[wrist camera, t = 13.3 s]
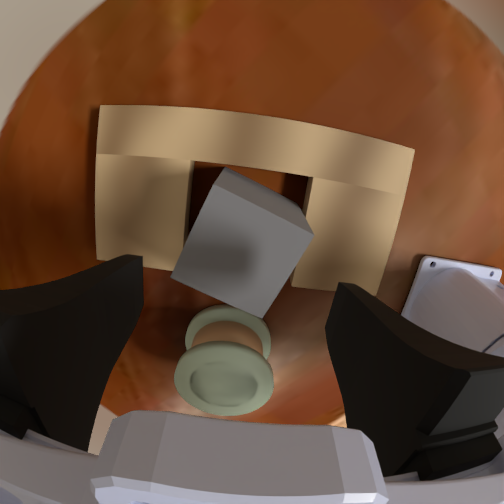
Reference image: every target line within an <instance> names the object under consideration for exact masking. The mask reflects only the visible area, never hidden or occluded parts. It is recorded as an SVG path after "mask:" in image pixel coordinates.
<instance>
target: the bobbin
mask: <svg viewBox="0 0 504 504" xmlns="http://www.w3.org/2000/svg"><path fill="white" fill-rule="evenodd" d="M185 345H186V349H187V351H186V352H185V353H184V354H183V355H182V356H181V357H180V359H179V361H178V364H177V367H176V371H175V374H174V382H175V386H176V389H177V391H178V393H179V394H180V395H181V397H182V398H183V399H184V400H185V401H186V402H188V403H189V404H190V405H192V406H193V407H195V408H197V409H199V410H201V411H204V412H207V413H211V414H215V415H222V416H235V415H242V414H246V413H249V412H252V411H254V410H256V409H258V408H260V407H261V406H263V405H264V404H265V403H266V402H267V401H268V400H269V398H270V397H271V395H272V392H273V388H274V381H273V372H272V368H271V366H270V364H269V362H268V361H267V358H268V356H269V354H270V350H271V338H270V331H269V329H268V327H267V325H266V323H265V322H264V321H263V319H262V318H259V317H257V316H255V315H252V314H250V313H248V312H245V311H243V310H241V309H239V308H236V307H234V306H232V305H229V304H221V305H215V306H211V307H208V308H206V309H204V310H202V311H200V312H199V313H198V314H196V315H195V316H194V317H193V319H192V320H191V322H190V324H189V326H188V329H187V333H186V336H185Z"/></svg>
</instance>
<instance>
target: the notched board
mask: <svg viewBox="0 0 504 504" xmlns="http://www.w3.org/2000/svg"><path fill="white" fill-rule="evenodd" d="M414 151H415V150H414V149H411V148H408V147H404V146H401V145H398V144H394V143H391V142H387V141H383V140H380V139H376V138H372V137H368V136H364V135H360V134H356V133H352V132H348V131H343V130H339V129H334V128H330V127H325V126H320V125H315V124H310V123H305V122H299V121H294V120H288V119H282V118H276V117H269V116H262V115H255V114H248V113H240V112H231V111H222V110H212V109H201V108H187V107H171V106H145V105H100V113H99V123H98V135H97V150H96V172H95V230H96V252H97V259H98V260H105V261H108V260H111V259H113V258H116V257H119V256H122V255H125V254H132V255H138V256H143V267H150V268H156V269H163V270H170V271H173V270H174V267H175V265H176V263H177V261H178V258H179V256H180V254H181V252H182V250H183V247H184V245H185V243H186V241H187V239H188V228H189V215H190V203H191V192H192V182H193V172H194V163H195V161H202V162H212V163H220V164H229V165H237V166H244V167H252V168H259V169H266V170H272V171H279V172H285V173H292V174H298V175H304V176H309V177H308V182H307V188H306V193H305V199H304V204H303V209H302V213H303V215H304V216H305V218H306V220H307V222H308V224H309V226H310V227H311V229H312V231H313V233H314V237H313V239H312V240H311V242H310V244H309V245H308V247H307V249H306V250H305V252H304V253H303V255H302V257H301V258H300V260H299V262H298V263H297V265H296V266H295V268H294V270H293V271H292V273H291V274H290V276H289V278H290V282H291V286H292V287H300V288H309V289H318V290H327V291H336V289H337V286H338V282H345V283H354V284H356V285H358V286H360V287H361V288H363V289H364V290H366V291H367V292H369V293H370V294H371V295H374V296H376V294H377V291H378V288H379V285H380V282H381V279H382V276H383V273H384V270H385V267H386V263H387V260H388V257H389V254H390V250H391V247H392V243H393V240H394V236H395V233H396V229H397V225H398V222H399V218H400V214H401V210H402V206H403V202H404V198H405V193H406V189H407V185H408V180H409V176H410V171H411V166H412V161H413V156H414Z"/></svg>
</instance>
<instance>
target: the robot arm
mask: <svg viewBox="0 0 504 504" xmlns="http://www.w3.org/2000/svg"><path fill="white" fill-rule="evenodd" d="M431 262H433V264H432V265H431V266H430V264H431ZM501 275H502V271H501V270H500V269H499V268H495V267H490V266H484V265H479V264H473V263H467V262H462V261H456V260H450V259H444V258H438V257H432V256H425V257H423V258H422V259H421V261H420V264H419V267H418V270H417V273H416V276H415V279H414V282H413V285H412V287H411V290H410V293H409V295H408V298H407V301H406V303H405V306H404V308H403V311H402V313H401V315H400V314H398V313H397V312H395V311H394V310H392V309H391V308H390V307H388V306H387V305H385V304H384V303H383V302H381V301H380V300H378V299H377V298H376V297H374V296H373V295H371V294H370V293H369V292H367V291H366V290H364V289H363V288H361V287H360V286H358V285H356V284H354V283H345V282H338V286H337V289H336V293H335V296H334V299H333V303H332V306H331V309H330V313H329V316H328V319H327V322H326V326H325V331H326V339H327V345H328V350H329V354H330V357H331V361H332V364H333V367H334V371H335V374H336V377H337V381H338V384H339V388H340V391H341V394H342V399H343V403H344V409H345V416H346V423H347V428H344V427H337V426H331V425H289V424H269V423H255V422H244V421H233V420H224V419H216V418H208V417H201V416H195V415H188V414H182V413H176V412H171V411H148V410H135V411H131V412H129V413H127V414H124V415H122V416H120V417H117V418H115V419H113V420H112V422H111V425H110V427H109V430H108V433H107V435H106V438H105V441H104V443H103V446H102V448H101V451H100V454H99V455H94V454H91V453H88V447H89V442H90V438H91V433H92V429H93V426H94V422H95V418H96V414H97V411H98V408H99V405H100V401H101V398H102V395H103V392H104V389H105V386H106V384H107V381H108V378H109V376H110V373H111V371H112V369H113V367H114V365H115V363H116V361H117V359H118V357H119V355H120V354H121V352H122V350H123V348H124V346H125V344H126V343H127V341H128V339H129V337H130V335H131V333H132V331H133V330H134V328H135V326H136V324H137V321H138V318H139V316H140V313H141V310H142V307H143V305H144V298H143V256H138V255H132V254H125V255H122V256H119V257H116V258H113V259H111V260H108V261H106V262H104V263H101V264H99V265H96V266H94V267H92V268H89V269H87V270H84V271H81V272H79V273H76V274H73V275H71V276H68V277H65V278H62V279H59V280H55V281H52V282H48V283H44V284H40V285H34V286H29V287H24V288H18V289H9V290H0V504H504V285H503V284H501V283H500V282H499V280H500V278H501Z"/></svg>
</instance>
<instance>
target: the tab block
mask: <svg viewBox="0 0 504 504" xmlns="http://www.w3.org/2000/svg"><path fill="white" fill-rule="evenodd" d="M313 237H314V233H313V231H312V229H311V227H310V226H309V224H308V222H307V220H306V218H305V216H304V215H303V213H302V211H301V209H300V207H299V206H298V204H297V203H295V202H294V201H292V200H290V199H288V198H286V197H284V196H282V195H280V194H278V193H276V192H275V191H273V190H271V189H269V188H267V187H265V186H263V185H261V184H259V183H257V182H255V181H253V180H251V179H249V178H247V177H245V176H243V175H241V174H239V173H237V172H235V171H233V170H231V169H229V168H227V167H225V168H224V169H223V171H222V172H221V174H220V175H219V177H218V178H217V180H216V181H215V182H214V184H213V186H212V188H211V190H210V192H209V194H208V196H207V198H206V200H205V202H204V204H203V207H202V209H201V211H200V213H199V215H198V217H197V219H196V221H195V223H194V226H193V228H192V230H191V232H190V234H189V236H188V239H187V241H186V243H185V245H184V247H183V250H182V252H181V254H180V256H179V258H178V261H177V263H176V265H175V267H174V270H173V272H172V274H171V277H170V278H173V279H175V280H177V281H179V282H181V283H183V284H185V285H187V286H190V287H192V288H194V289H196V290H198V291H201V292H203V293H205V294H207V295H209V296H212V297H214V298H216V299H218V300H220V301H223V302H225V303H227V304H229V305H232V306H234V307H236V308H239V309H241V310H243V311H245V312H248V313H250V314H252V315H255V316H257V317H259V318H263V317H264V315H265V313H266V312H267V310H268V309H269V307H270V306H271V304H272V303H273V301H274V300H275V298H276V296H277V295H278V293H279V292H280V290H281V289H282V287H283V285H284V284H285V282H286V281H287V279H288V278H289V276H290V274H291V273H292V271H293V270H294V268H295V266H296V265H297V263H298V262H299V260H300V258H301V257H302V255H303V253H304V252H305V250H306V249H307V247H308V245H309V244H310V242H311V240H312V239H313Z"/></svg>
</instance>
